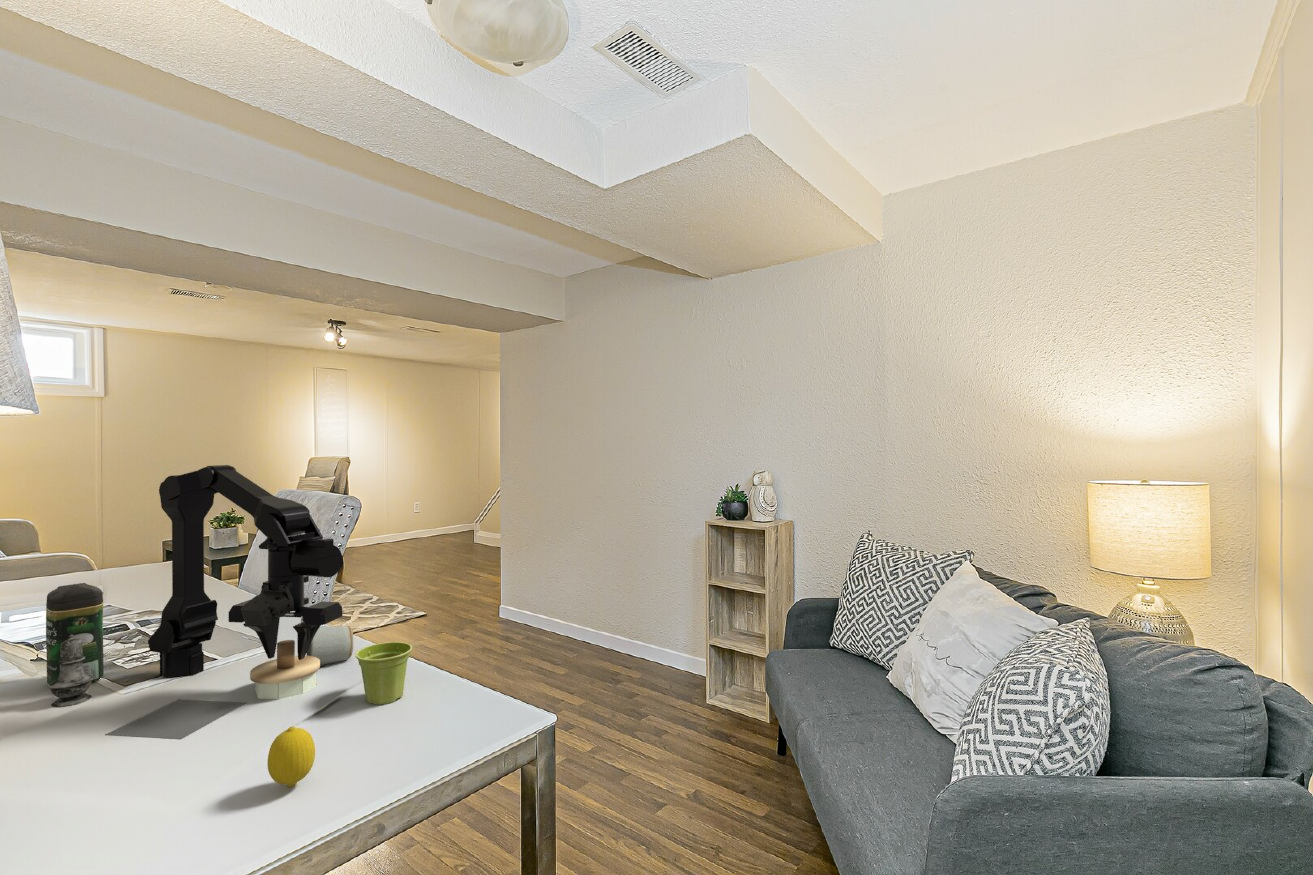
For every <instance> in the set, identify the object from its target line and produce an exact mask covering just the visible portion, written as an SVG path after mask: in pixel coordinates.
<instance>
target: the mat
mask: <svg viewBox="0 0 1313 875" xmlns="http://www.w3.org/2000/svg"><path fill="white" fill-rule="evenodd" d="M245 704H247V702H244V701H243V702H242V701H223V700H202V699H184V698H182V699H181V698H180V699H179V698H178V699H176V700H174V701H172V702H170V703H168V704H166V705H163V706H161V707H159V708H157V709H155V710H152V711H151V712H149V713H147V714H144V715H142V716H141V717H138V718H137V719H134V720H132V721H130V722H128V723H125V724H123V725H122V726H120V727H118V728H115V729H113V730H112V731H110V732H107V733H105V734H104V736H114V737H115V736H117V737H131V738H132V737H133V738H150V739H151V738H152V739H170V740H182V739H185V738H186V737H188V736H190V735H192V734H193V733H196V732H197V731H199V730H201V729H202V728H204V727H206V726H208V725H210V724H212V723H213V722H215V721H217V720H219V719H220V718H222V717H224V716H226V715H228V714H229V713H232V712H233V711H235V710H236V709H238V708H240V707H242V706H244V705H245Z"/></svg>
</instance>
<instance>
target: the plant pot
mask: <svg viewBox="0 0 1313 875" xmlns="http://www.w3.org/2000/svg"><path fill="white" fill-rule="evenodd" d="M412 650H413V645H412V644H410V643H408V642H405V641H387V642H380V643H375V644H371V645H367V646H365V647H362V648H360V649H359V650H358V651H357V652H356V653H355V654H354V655H355V657H354V658H356V660H357V661H358V665H359V667H360V669H361V675H362V676H361V677H362V683H363V688H364V696H365V700H366V703H368V704H371V703H372V704H375V705H379V706H380V705H384V704H391V703H393V702H395V701H396V700H397V699H401V698H402V697H403V696H404V690H405V681H406V674H407V673H406V672H407V666H408V660H409V658H410V653H411V652H412Z"/></svg>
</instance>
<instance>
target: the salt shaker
mask: <svg viewBox="0 0 1313 875" xmlns="http://www.w3.org/2000/svg"><path fill="white" fill-rule="evenodd" d="M69 637H70V639H68V640H66V641H64V642H63V643H62V644H61V646H60V660H59V661H58V662H57V663H58V664H60V674H59V677H58V679H57V680H56V681H54V682H52V683H50V684H49V685H48V688H50V691H51V693H52V695H53V696H54V697H56V698H57V699H55V700H54V701H52V702H51V703H50V707H52V708H67V707H72V706H77V705H79V704H82V703H83V704H84V703H85V702H87V701H89V700H90V699H92V695H91V694H90V693H89V694H88V693H86V692H87V690H88V689H89V688H90V686H91V684H92V683H91V680H92V679H93V678H94V677H93V676H92V675H86V674H85V673H84V671H83V659H85V656H82V641H81V640H80V639H75V638H73V635H72V634H71V635H70V636H69Z"/></svg>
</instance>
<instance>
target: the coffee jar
mask: <svg viewBox="0 0 1313 875" xmlns="http://www.w3.org/2000/svg"><path fill="white" fill-rule="evenodd" d="M45 608H46V609H45V643H46V644H45V645H46V683H47V684H48V685H49V684H50V683H52V682H54V681H56V680H57V679H58V677H59V674H60V664H58V663H57V662H58V661H59V660H60V646H61V644H62V643H63V642H64V641H66V640H68V639H70V637H69V636H70V635H71V634H72V635H73V638H75V639H80V640H81V641H82V656H85V659H83V671H84V673H85V674H86V675H92V676H93V677H94V678H93V679H92V680H91V684H92V683H94V682H97V681H100V680H101V679H102V678H103V677H104V672H105V670H104V662H105V661H104V592H103V590H102V589H101V588H100V587H97V586H95V585H91V584H88V583H85V582H82V583H73V584H67V585H60V586H58V587H56V588H55V589H53V590H51V591H50V592H48V594H47V595H46V605H45ZM100 678H101V679H100ZM99 679H100V680H99Z"/></svg>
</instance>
